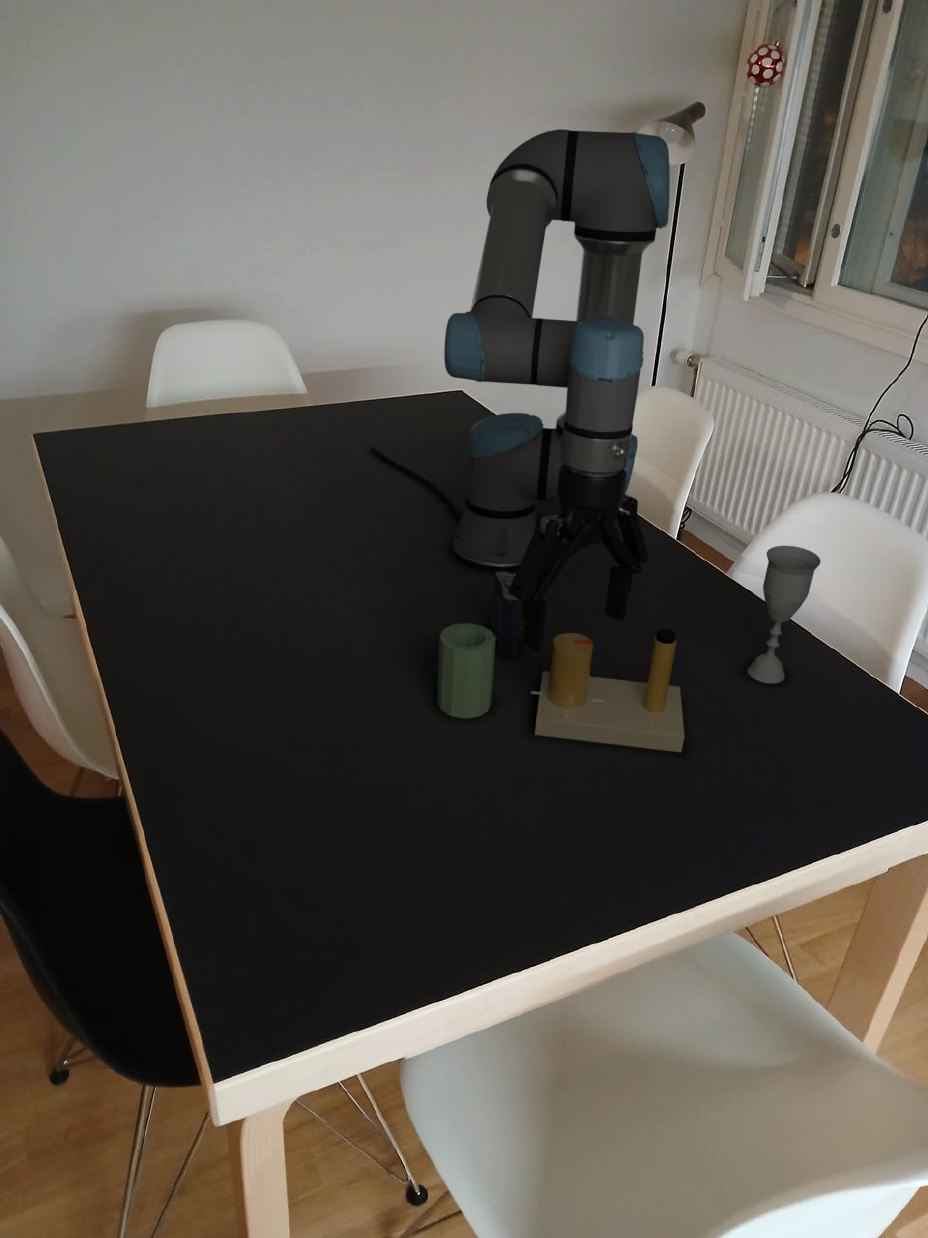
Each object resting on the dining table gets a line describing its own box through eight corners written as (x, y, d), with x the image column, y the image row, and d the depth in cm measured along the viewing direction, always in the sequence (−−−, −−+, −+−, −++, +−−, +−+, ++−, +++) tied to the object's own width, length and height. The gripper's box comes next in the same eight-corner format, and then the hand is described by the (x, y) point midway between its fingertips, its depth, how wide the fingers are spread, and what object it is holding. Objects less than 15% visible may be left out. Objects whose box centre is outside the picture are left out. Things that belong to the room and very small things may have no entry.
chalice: (751, 654, 139) (776, 540, 130) (798, 670, 136) (827, 555, 127) (733, 676, 133) (758, 559, 124) (781, 693, 130) (811, 574, 121)
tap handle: (546, 705, 121) (551, 649, 117) (548, 683, 125) (554, 628, 121) (586, 710, 120) (593, 653, 116) (587, 688, 125) (594, 633, 121)
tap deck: (525, 733, 120) (527, 716, 118) (533, 685, 129) (534, 669, 128) (681, 752, 118) (684, 735, 116) (677, 702, 127) (680, 685, 126)
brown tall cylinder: (642, 721, 121) (656, 637, 115) (642, 709, 124) (655, 627, 118) (663, 723, 121) (678, 640, 115) (662, 712, 123) (677, 629, 117)
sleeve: (427, 702, 125) (428, 636, 120) (463, 682, 129) (466, 617, 124) (465, 725, 121) (468, 657, 116) (501, 703, 125) (506, 637, 120)
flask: (489, 623, 143) (494, 558, 138) (509, 623, 144) (514, 558, 138) (500, 656, 135) (505, 589, 130) (521, 656, 136) (527, 588, 130)
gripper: (529, 498, 98) (515, 674, 108) (694, 456, 112) (667, 617, 122) (484, 475, 103) (475, 646, 114) (647, 438, 117) (625, 593, 127)
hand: (574, 631), depth 118 cm, fingers open, 13 cm apart
